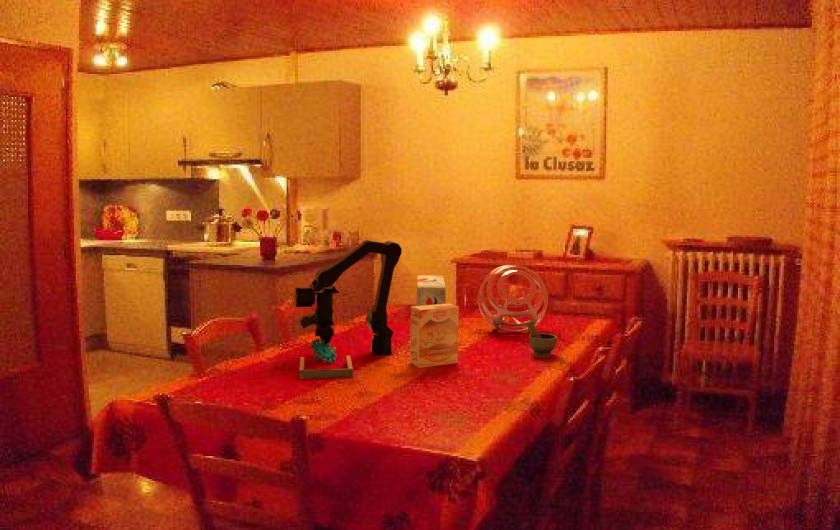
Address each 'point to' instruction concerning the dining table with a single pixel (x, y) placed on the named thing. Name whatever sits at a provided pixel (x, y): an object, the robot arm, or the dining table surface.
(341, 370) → the mount cradle
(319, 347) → the gear
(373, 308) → the robot arm
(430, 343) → the coffeecake box
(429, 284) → the soda pack
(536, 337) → the mortar and pestle
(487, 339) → the dining table surface
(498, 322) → the spiral basket
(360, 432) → the dining table surface
